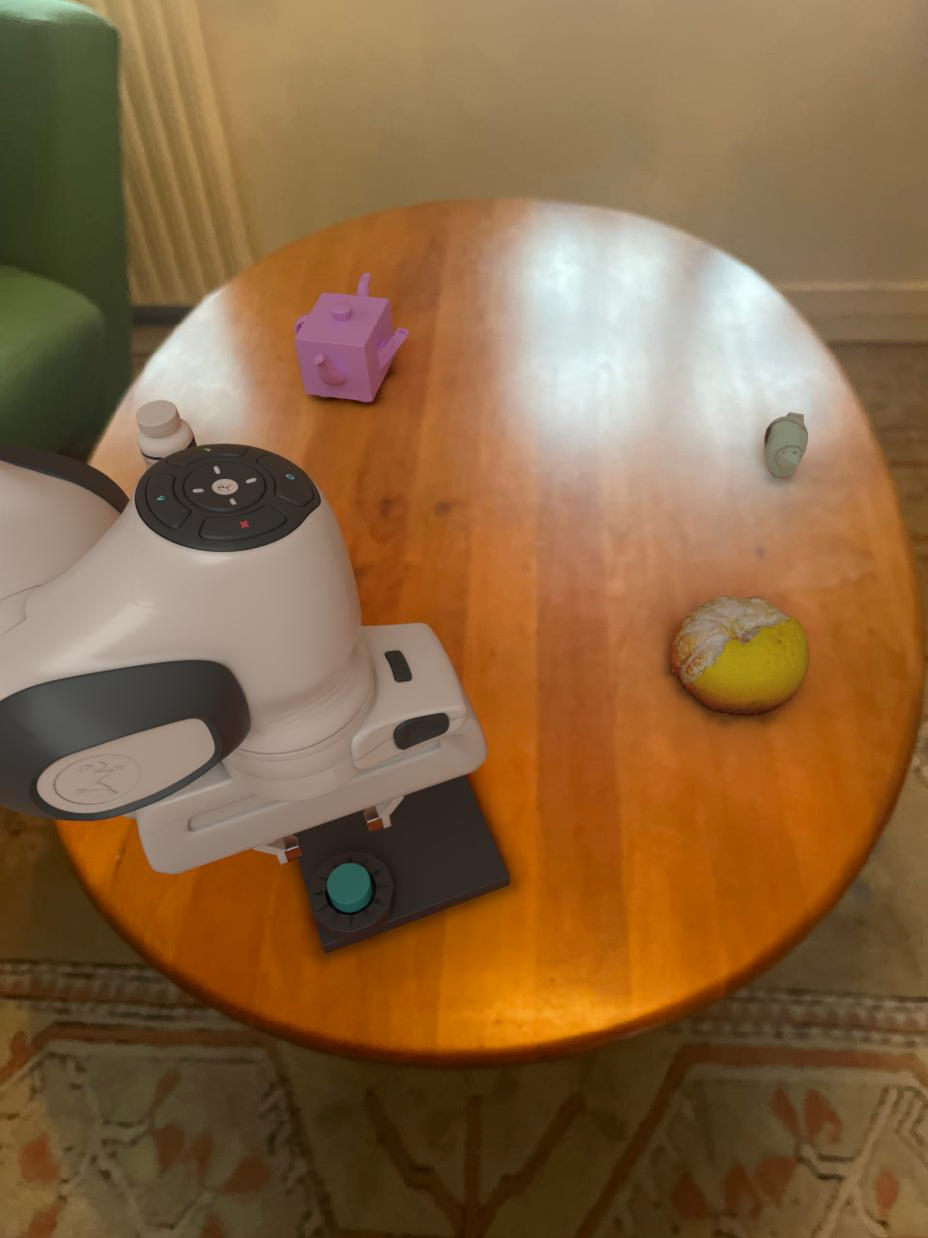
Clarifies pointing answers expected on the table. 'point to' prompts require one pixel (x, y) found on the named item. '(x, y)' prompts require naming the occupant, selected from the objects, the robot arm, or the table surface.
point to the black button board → (403, 862)
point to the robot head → (785, 443)
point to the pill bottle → (162, 431)
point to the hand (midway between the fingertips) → (333, 835)
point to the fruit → (740, 655)
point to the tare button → (349, 887)
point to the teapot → (347, 344)
